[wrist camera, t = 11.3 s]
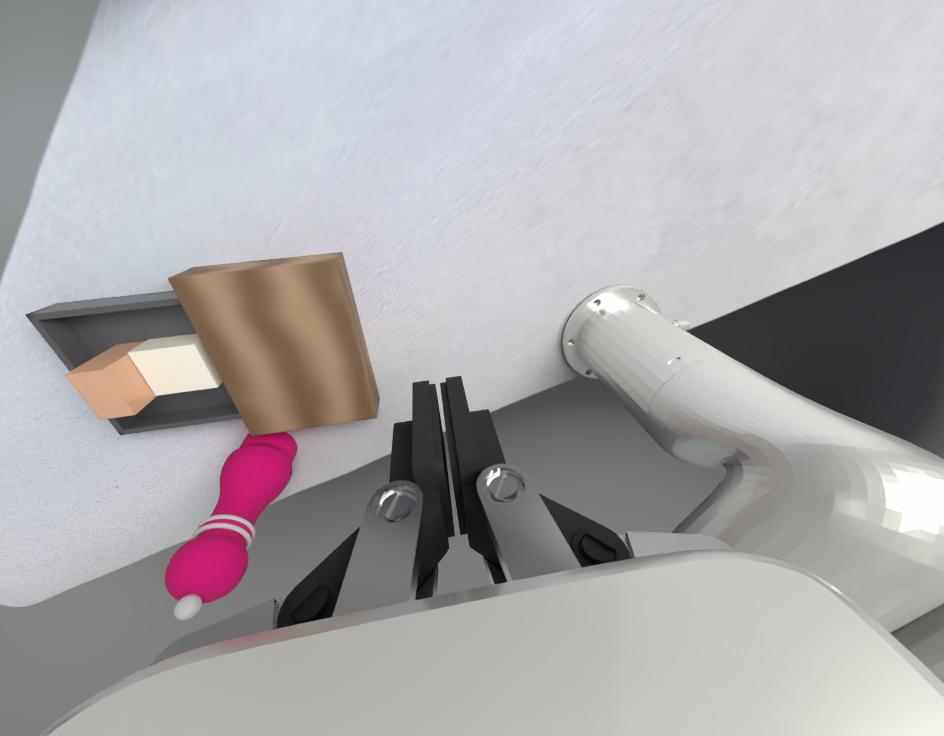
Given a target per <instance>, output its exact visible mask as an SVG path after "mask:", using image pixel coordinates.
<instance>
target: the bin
mask: <svg viewBox="0 0 944 736" xmlns="http://www.w3.org/2000/svg"><path fill="white" fill-rule="evenodd" d="M26 316H27V318H28V319H29V320H30V321H31V323H32V324H33V325H34V326H35V328H36V329H37V330H38V331H39V333H40V334H41V335H42V337H43V338H44V339H45V340H46V342H47V343H48V344H49V345H50V347H51V348H52V349H53V350H54V352H55V353H56V354H57V355H58V357H59V358H60V359H61V361H62V362H63V363H64V364H65V366H66V367H67V368H68V369H69V371H72V370H74V369H75V368H77V367H79V366H81V365H82V364H84V363H86V362H87V361H89V360H91V359H93V358H94V357H96V356H98V355H100V354H101V353H103V352H105V351H106V350H108V349H110V348H112V347H113V346H115V345H117V344H126V343H134V342H143V341H147V340H148V339H156V338H164V337H173V336H181V335H189V334H197V333H196V331H195V329H194V327H193V325H192V323H191V321H190V319H189V318H188V316H187V314H186V312H185V310H184V308H183V306H182V304H181V303H180V301H179V299H178V297H177V295H176V293H175V291H167V292H158V293H149V294H139V295H130V296H121V297H112V298H102V299H93V300H84V301H74V302H65V303H56V304H53V305H50V306H48V307H45V308H42V309H40V310H37V311H34V312H31V313H29V314H26ZM237 418H242V417H241V415H240V413H239V412H238V410H237V408H236V406H235V404H234V402H233V400H232V398H231V397H230V395H229V393H228V391H227V389H226V387H225V385H224V383H223V382H222V383H221V384H220V386H219V387H218V388H210V389H203V390H195V391H188V392H180V393H173V394H165V395H158V396H156V397H155V398H154V399H153V400H152V401H151V402H150V403H148V404H147V405H146V406H145V407H144V408H143V409H142V410H140V411H139V412H138V413H137V414H136V415H132V416H125V417H117V418H110V419H108V420H109V421H110V422H111V424H112V425H113V426H114V427H115V429H116V430H117V431H118V433H119V434H120V435H125V434H132V433H139V432H146V431H153V430H160V429H167V428H174V427H181V426H188V425H195V424H202V423H209V422H216V421H223V420H230V419H237Z"/></svg>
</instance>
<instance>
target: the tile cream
mask: <svg viewBox="0 0 944 736" xmlns="http://www.w3.org/2000/svg"><path fill="white" fill-rule="evenodd" d="M128 355H129V356H130V358H131V359H132V361H133V362H134V364H135V365H136V367H137V368H138V370H139V371H140V373H141V374H142V376H143V377H144V379H145V380H146V382H147V383H148V385H149V386H150V388H151V389H152V391H153V392H154V394H155V395H156V396H158V395H165V394H173V393H180V392H188V391H195V390H203V389H210V388H218V387H219V386H220V384H221V383H222V382H223V381H222V380H221V378H220V376H219V374H218V372H217V370H216V368H215V366H214V365H213V363H212V361H211V359H210V357H209V355H208V353H207V351H206V350H205V348H204V346H203V344H202V342H201V340H200V338H199V336H198V335H197V334H189V335H181V336H173V337H164V338H156V339H148V340H147V341H145V342H143V343H142V344H140V345H139V346H137V347H135V348H134V349H132V350H131V351H129V352H128Z"/></svg>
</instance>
